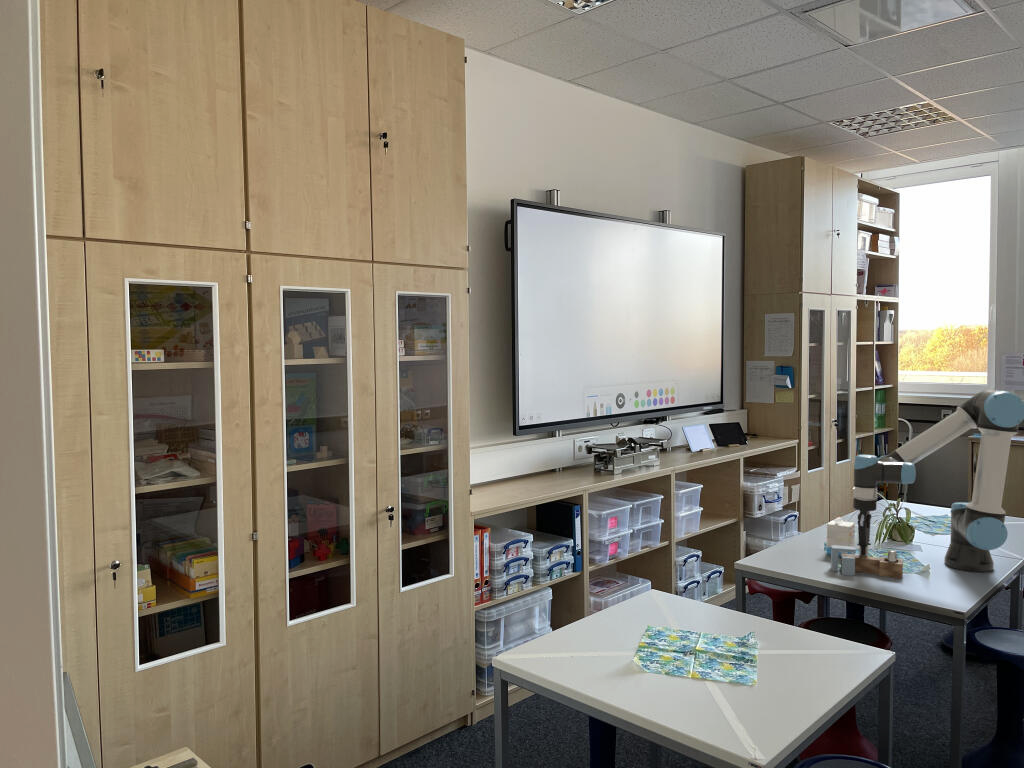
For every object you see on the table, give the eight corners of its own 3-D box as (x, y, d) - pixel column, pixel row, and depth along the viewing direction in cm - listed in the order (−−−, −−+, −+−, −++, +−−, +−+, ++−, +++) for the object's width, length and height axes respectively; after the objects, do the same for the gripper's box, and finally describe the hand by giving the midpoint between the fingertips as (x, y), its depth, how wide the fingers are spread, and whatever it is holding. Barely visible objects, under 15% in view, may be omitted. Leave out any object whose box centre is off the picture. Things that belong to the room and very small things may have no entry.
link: (902, 573, 260) (902, 559, 260) (902, 578, 254) (902, 564, 254) (842, 565, 270) (842, 552, 269) (840, 570, 263) (840, 556, 263)
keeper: (853, 569, 265) (854, 546, 265) (856, 575, 258) (856, 552, 257) (831, 567, 267) (831, 545, 267) (832, 573, 260) (833, 550, 260)
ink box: (849, 557, 280) (850, 522, 279) (826, 553, 285) (826, 519, 285) (854, 552, 287) (855, 518, 286) (832, 548, 292) (832, 515, 291)
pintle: (896, 573, 260) (897, 551, 259) (895, 575, 257) (896, 553, 257) (888, 572, 261) (888, 549, 261) (886, 574, 259) (887, 551, 258)
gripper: (856, 494, 271) (855, 557, 273) (850, 500, 261) (848, 566, 262) (879, 496, 267) (877, 560, 268) (873, 502, 256) (872, 569, 258)
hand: (863, 563), depth 265 cm, fingers closed
